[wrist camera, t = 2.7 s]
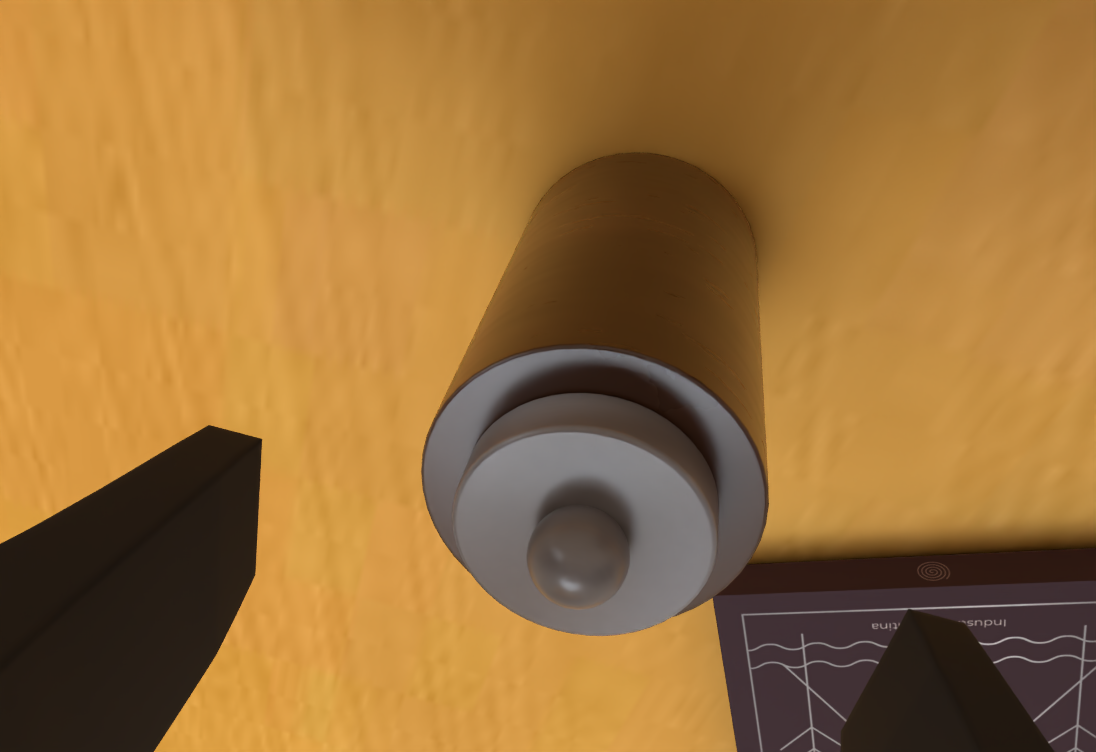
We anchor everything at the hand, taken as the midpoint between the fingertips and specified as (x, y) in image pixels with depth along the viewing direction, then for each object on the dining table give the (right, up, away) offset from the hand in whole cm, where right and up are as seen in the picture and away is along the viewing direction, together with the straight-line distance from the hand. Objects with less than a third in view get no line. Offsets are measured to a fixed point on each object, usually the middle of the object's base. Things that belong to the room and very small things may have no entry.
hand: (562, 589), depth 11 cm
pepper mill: (+2, +4, +8) cm, 9 cm away
